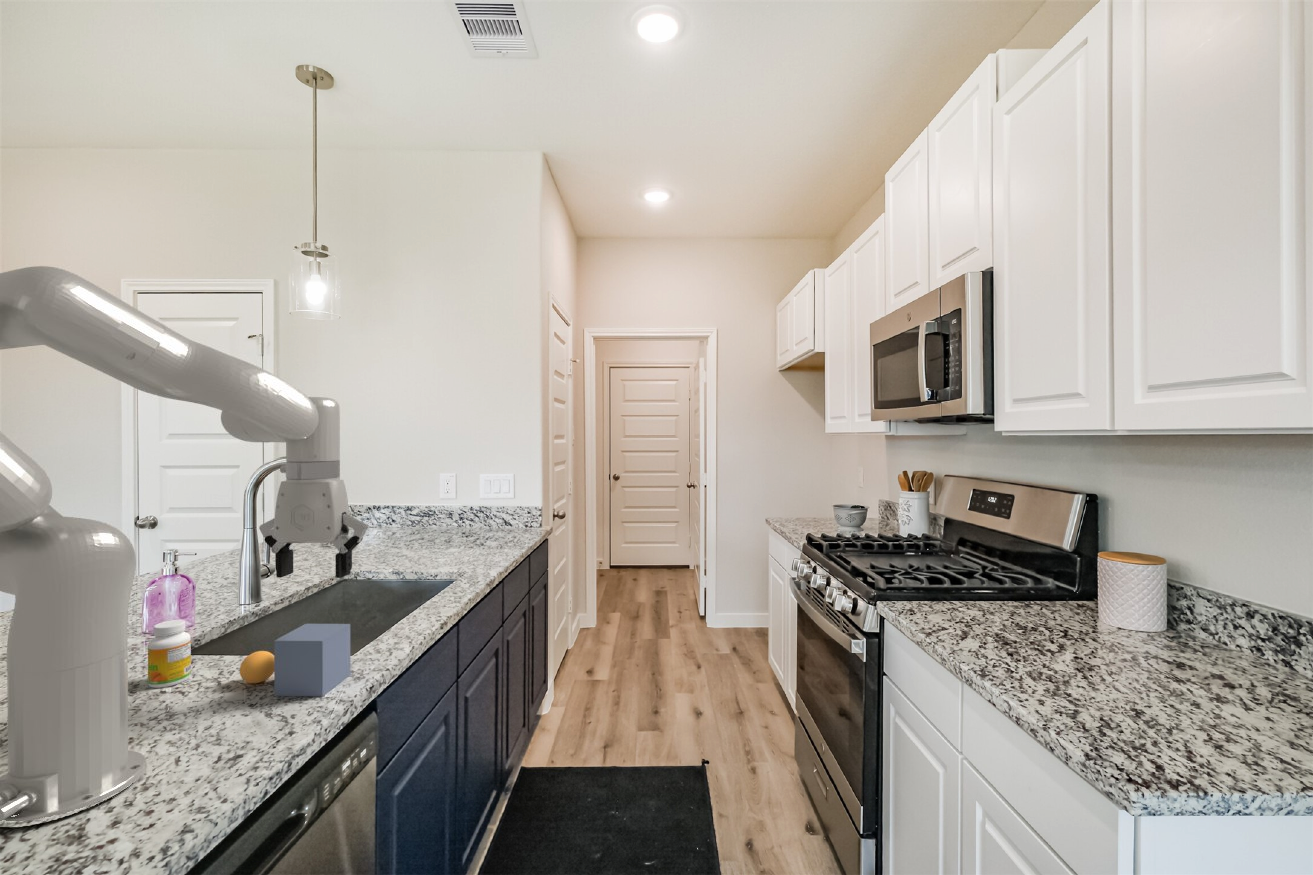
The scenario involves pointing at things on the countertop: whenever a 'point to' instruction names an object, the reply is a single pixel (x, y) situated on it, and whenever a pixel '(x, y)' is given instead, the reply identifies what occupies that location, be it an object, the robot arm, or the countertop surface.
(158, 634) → the supplement bottle
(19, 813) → the robot arm
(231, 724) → the countertop surface
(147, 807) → the countertop surface
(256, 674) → the egg
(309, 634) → the slate blue rectangular box
